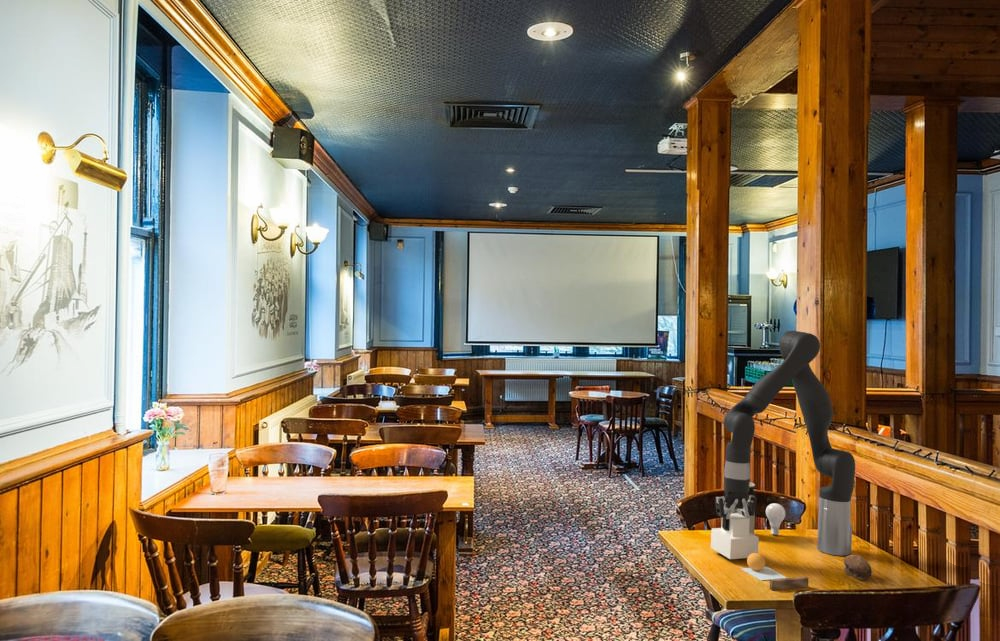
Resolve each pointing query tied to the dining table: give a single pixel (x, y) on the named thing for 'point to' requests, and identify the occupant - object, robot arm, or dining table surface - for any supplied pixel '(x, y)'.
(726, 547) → the stepped white block
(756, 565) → the ball
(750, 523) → the travel mug
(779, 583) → the strip
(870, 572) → the brown stone
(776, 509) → the lightbulb
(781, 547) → the dining table surface
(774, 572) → the beer mat mark
